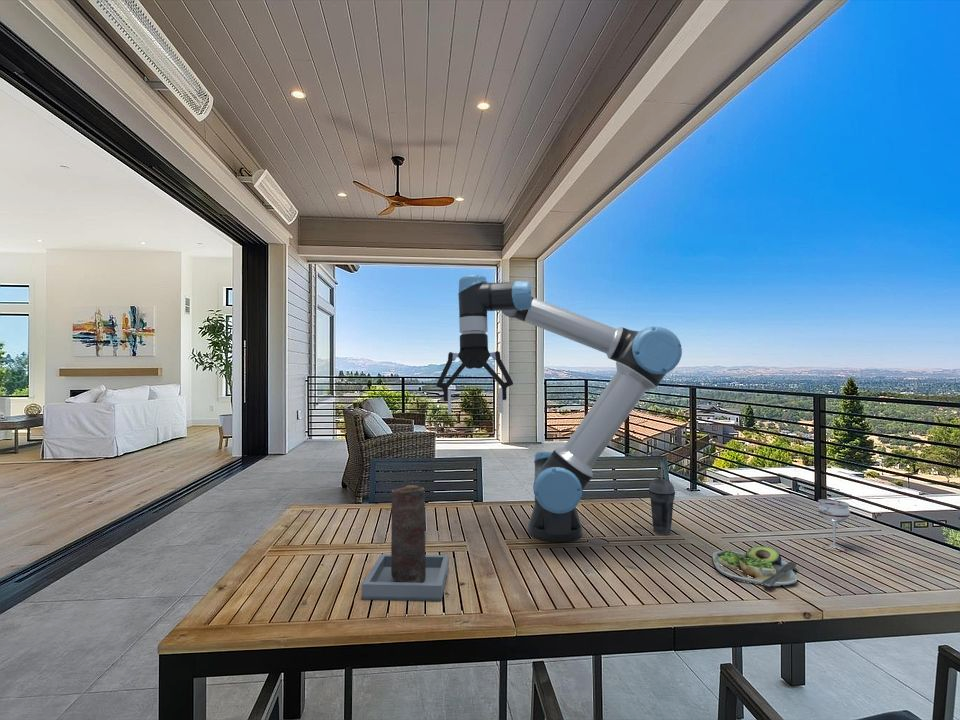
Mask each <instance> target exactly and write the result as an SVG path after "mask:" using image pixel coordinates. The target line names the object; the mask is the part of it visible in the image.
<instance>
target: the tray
mask: <svg viewBox="0 0 960 720" xmlns="http://www.w3.org/2000/svg"><path fill="white" fill-rule="evenodd" d="M425 558H426V578H425V580H424V582H422V583H408V582H401V581H397V580H394V579H393V578H392V576H391V553H390V554H389V553H386V554H385V553H380V554H379V557H378V558H377V560H376V561H375V562H374V565H372V567H371V569H370V571H369V572H368V573H367V576H366V578H364V580H363V582H362V584H361V600H363V601H364V600H367V601H368V600H369V601H370V600H372V601H373V600H374V601H375V600H376V601H377V600H378V601H413V602H414V601H422V602H425V601H426V602H442V601H443V597H444V592H445V588H446V584H447V578H448V575H449V569H450V555H448V554H425ZM447 574H448V575H447Z"/></svg>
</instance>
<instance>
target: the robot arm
mask: <svg viewBox="0 0 960 720" xmlns="http://www.w3.org/2000/svg"><path fill="white" fill-rule="evenodd" d="M457 295H458V310H459V316H458V317H459V318H458V321H459V323H458V324H459V332H460V335H459V352H452V351H450V352H448V354H447V355H448V356H447V361H446V363H445V366H444V368H443V369H442V372H441V373H440V376H439V377H438V380H437V382H436V387H437V388H440V389H442V390H443V402H447V407H448V408H447V412H448V413H447V414H448V415H452V390H451V389H452V388H451V389H449V388H450V386H451V385H452V384H453V383H454V381H455V380H456V379H457V378H458V376H459V375H460V374H461V372H462V371H463V370H464V369H465V368H466V369H470V370H471V369H482V368H484V369H485V370H486V371H487V372H488V374H489V375H490V376H491V377H492V378H493V379H494V380H495V381H496V383H498V384H499V386H500V387H498V412H499V414H503V413H504V412H503V411H504V407H503V406H504V403H503V401H506V400H507V398H508V397H507V389H508V388H509V387H511V386H513V384H514V382H513V379H512V378H511V376H510V373H509V372H508V369H506V368H507V367H505V365H504V362H503V361H502V359H501V353H500V351H499V350H497V351H494V352H489V336H488V334H487V332H488V329H489V328H488V312H495V311H496V312H499V311H501V312H502V314H503V315H504V316H506V317H508V318H511V319H516V320H519V321H522V322H525V323H527V324H529V325H533V326H535V327H537V328H540V329H542V330H545V331H548V332H550V333H553V334H555V335H557V336H561V337H563V338H565V339H568V340H570V341H574V342H576V343H579V344H580V345H583V346H586V347H589V348H591V349H594V350H595V351H598V352H602V353H604V354H606V357H607V359H609V360H612V361H615V366H616V372H615V374H614V375H613V376H612V378H611V379H610V381H609V382H608V384H607V385H606V386H605V388H604V390H603V391H602V392H601V393H600V395H599V396H598V398H596V401H594V403H593V405H592V406H591V408H590V409H589V411H587V414H586V415H585V416H584V418H583V419H582V420H581V422H580V423H579V425H577V427H576V429H575V430H574V431H573V433H572V435H571V436H570V438H569V439H568V440H567V441H566V443H565V444H564V446H562V447H557V448H554V449H553V451H538V452H536V453H535V454H534V460H533V463H534V481H533V486H532V487H533V488H532V490H533V493H534V506H533V509H532V512H531V514H530V518H529V521H528V533H529V535H530V536H532V537H534V538H536V539H539V540H543V541H550V542H570V541H571V542H572V541H574V540H577V539H580V538H581V537H582V536H583V525H582V522H581V520H580V517H579V513H578V510H577V506H578V505H579V504H580V502H581V499H582V495H583V492H584V489H585V488H586V487H587V485H588V484H589V482H590V481H591V480H592V478H593V477H594V475H593V466H594V465H595V464H596V461H597V460H598V459H599V458H600V456H601V454H602V453H604V451H605V449H606V448H607V447H608V445H609V444H610V442H611V441H612V439H613V438H614V437H615V435H616V434H617V432H618V431H619V429H620V428H621V427H622V425H623V424H624V423H625V421H626V420H627V419H628V417H629V416H630V414H631V412H632V411H633V410H634V408H635V407H636V406H637V404H638V403H639V402H640V400H641V399H642V397H643V396H644V394H645V393H646V392H647V391H650V390H654V389H657V387H658V386H659V384H660V383H661V382H662V380H663V379H664V378H665V376H666V375H667V374H668V373H670V372H671V371H673V370H674V369H675V368H676V367H677V366H678V365H679V363H680V361H681V358H682V354H683V348H682V343H681V342H680V339H679V337H678V336H677V334H675V333H674V332H673V331H671V330H670V329H668V328H666V327H662V326H649V327H645V328H643V329H642V330H640V331H637V330H632V329H628V328H625V327H623V326H620V327H618V328H616V327H613V326H611V325H608V324H604V323H603V322H600V321H596V320H595V319H591V318H589V317H587V316H584V315H580V314H579V313H576V312H572V311H570V310H568V309H565V308H563V307H560V306H557V305H555V304H552V303H549V302H547V301H544V300H542V299H539V298H536V297H533V296H532V285H531V282H529V281H522V280H521V281H520V280H516V281H504V282H503V281H502V282H500V281H499V282H488V281H487V277H486V276H485V275H481V274H467V275H462V276H461V277H460V278H459V280H458V293H457ZM490 357H491V358H492V360H495V362H496V364H497V366H498V368H499V370H500V371H501V374H502V376H503V377H504V380H505V381H506V382H504V380H503V379H502V378H501V377H500V376H499V375H498V373H496V371H495V370H494V369H493V368H492V366H490V364H489V363H488V362H487V361H488V360H489V359H490ZM457 358H458V359H459V360H460V362H461V364H460V365H459V367H458V368H457V369H456V370H455V371H454V373H453V374H452V375H451V377H450V378H449V379H448V380H447V381H446V383H444V381H445V379H446V377H447V374H448V372H449V370H450V368H451V367H452V363H453V362H455V361H456V359H457Z"/></svg>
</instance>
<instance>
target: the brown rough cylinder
mask: <svg viewBox="0 0 960 720" xmlns="http://www.w3.org/2000/svg"><path fill="white" fill-rule="evenodd" d="M425 493H426V489H425V487H423V486H418V485H414V484H409V485H406V486H404V487H399V488H396V489H391V523H390V524H391V525H390V526H391V529H390V530H391V545H390V546H391V547H390V548H391V551H390V552H391V553H390V554H391V576H392V578H393V579H394V580H397V581H401V582H408V583H422V582H424V580H425V578H426V558H425V555H426V511H425V510H426V508H425V507H426V503H425V502H426V499H425V498H426V497H425Z"/></svg>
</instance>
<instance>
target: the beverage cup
mask: <svg viewBox="0 0 960 720" xmlns="http://www.w3.org/2000/svg"><path fill="white" fill-rule="evenodd" d="M663 463H664V462H663V461H661V462H660V477H656V478H654V479H653V480H651V482H650V484H649V486H648V487H649V488H648V492H649V493H648V495H649V499H650V510H651V519H652V528H653V533H655V534H657V535H661V536H662V535H663V536H669V535H671V531H672V522H673V521H672V520H673V512H674V511H673V510H674V500H675V497H676V496H675V495H676V491H675V487H674V485H673V483H672V482H671V481H670V480H669V479H667V478H665V477H664V476H663V472H664V470H663V469H664V468H663V467H664V465H663Z"/></svg>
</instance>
